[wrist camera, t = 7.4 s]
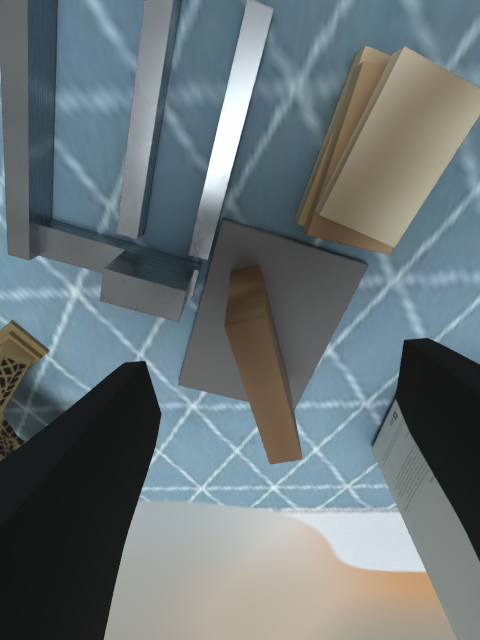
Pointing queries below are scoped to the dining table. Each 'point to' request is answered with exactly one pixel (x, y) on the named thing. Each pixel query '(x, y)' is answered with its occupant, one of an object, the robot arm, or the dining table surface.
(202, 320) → the mat
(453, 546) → the skincare box
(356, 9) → the dining table surface
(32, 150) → the rack
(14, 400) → the dining table surface
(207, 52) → the dining table surface
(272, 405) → the walnut sheet
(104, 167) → the dining table surface
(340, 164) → the offcut stack
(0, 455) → the eiffel tower
